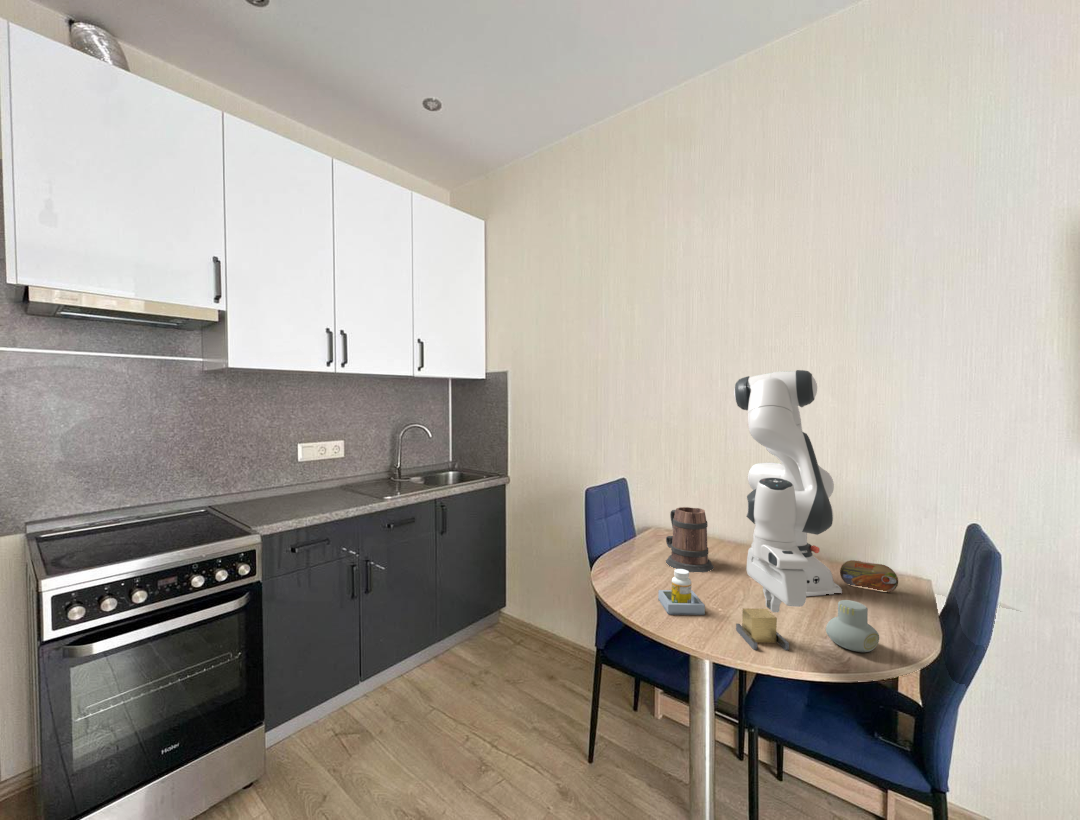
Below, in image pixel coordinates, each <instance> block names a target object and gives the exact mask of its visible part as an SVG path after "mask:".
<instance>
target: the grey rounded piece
mask: <svg viewBox="0 0 1080 820" xmlns="http://www.w3.org/2000/svg"><path fill="white" fill-rule="evenodd" d="M868 613H869V611H868V607H867V606H866V605H865V604H863V603H862V602H859V601H856V600H849V599H843V600H839V601H838V602H837V616H834V617H833V618H831V619H830V620H828V622H827V623H826V626H825V633H826V635H827V636H828V637H829V638H830V640H831V641H832V642H834V643H835V644H836V645H838V646H839V647H842V648H844V649H845V650H848V651H851V652H856V653H868V652H871V651H873V650H874V649H875V648H877V646H878V644H879V642H880V634H879V632H878V631H877V630H876V629H875V628H874V627H873V626H872V625H870V624H869V623H868Z"/></svg>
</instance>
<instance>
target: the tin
mask: <svg viewBox="0 0 1080 820" xmlns="http://www.w3.org/2000/svg"><path fill="white" fill-rule="evenodd" d="M839 575H840V578H841V580H842V582H844V583H845V584H846V585H847V584H850V585H855V586H862V587H868V588H873V589H877V590H883V591H887V592H888V593H891V592H894V591H895V590H896V589H897V588H898V585H899V577H898V575H897V573H896V572H895V571H894V570H893V568H891V567H889V566H887V565H886V564H885V565H884V564H881V563H874V562H867V561H861V560H855V559H853V560H852V559H851V560H847V561H845V562H843V564H841V566H840V568H839Z"/></svg>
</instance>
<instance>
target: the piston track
mask: <svg viewBox="0 0 1080 820" xmlns="http://www.w3.org/2000/svg"><path fill="white" fill-rule="evenodd" d="M735 625H736V626H735V627H736V628H735V631H736V632H737V633H738V634H739V635H740V637H741V638H742V639H743V640H744V641H745V642H746V643H747V644H748V645H749V647H750V648H751V649H752V650H753V651H758V642H756V641H755V640H754V639H753V638H752V637H751V635H750V634H749V633H748V632H747V631H746V630H745V629H744V628H743V627H742V624H740V623H736V624H735ZM776 643H777V644H778V645H779V646H780V647H781V648H782V649H783V650H784V651H787V652H788V651H789V649H790V643H789V641H787V640H786V639H785V638H784V637H783V636H782V635H781V634H779V632H778V631H776Z"/></svg>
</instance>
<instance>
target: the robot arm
mask: <svg viewBox="0 0 1080 820" xmlns="http://www.w3.org/2000/svg"><path fill="white" fill-rule="evenodd" d="M817 384H818V383H817V381H816V378H814V376H813V373H811V372H810V371H809V370H803V369H796V370H795V371H794V370H792V371H791V370H789V371H788V370H786V371H785V370H784V371H783V370H782V371H772V372H769V373H761V374H757V375H752V376H749V375H748V376H745V377H742V378H739V379H738V380H737V381H736V383H735V384H734V389H733V398H734V401H735V403H736V405H737V407H738V408H740V409H741V410H743V411H747V425H748V431H749V434H750V436H751V438H752V439H753V440H755V442H757V443H758V444H759V445H761V446H763V447H765V449H766V451H768V453H769V454H771V455H773V456H774V457H776V458H777V459H778V460H779V462H781V463H777V462H770V461H769V462H759V463H755V464H753V465H752V466H751V467H750V469H749V471H748V474H747V482H748V485H749V487H750V488H751V489H752V491H750V492H749V493H748V494H747V496H746V499H747V514H746V518H747V519H748V520H749V521H751V523H753V524H754V525H755V526H754V530H753V535H752V537H753V538H752V542H751V546H750V547H749V548H748V550H747V557H746V568H745V569H746V573H747V576H749V577H750V578H751V579H753V580H754V581H755V582H756V583H758V584H759V585H760V586H762V593H763V596H764V599H765V607H766V609H768V610H769V611H771V613H779V612H780V606H781V604H782V603H783V604H785V605H786V606H787V607H797V608H798V607H803V606H804V605H805V603H806V601H807V597H814V596H816V597H817V596H826V594H829V595H835V594H834V593H841V594H843V591H842V590H843V588H842V587H841V586H840V585H839V584H838V583H836V582H834V576H833V572H832V571H831V569H830V568H829V567H828V566H827V565H826V564H824V563H823V562H822V561H820V559H818V558H817V557H815V556H814V555H813V553H815V554H819V552H821V550H820V547H818V546H816V545H811V544H810V543H808V534H811V535H817V536H818V535H820V534H822V533H824V532H826V531H827V530H829V529H830V528H831V527H832V525H833V521H834V511H833V507H832V504H831V502H830V497H831V496H832V495H833V493H834V489H835V482H834V479H833V478H832V475H831V474H830V473H829V472H828V471H827V470H825V469H824V468H823V467H821V466H820V465H819V464H818V460H817V457H816V454H815V449H814V448H813V444H812V441H811V439H810V437H809V435H808V433H806V432H804V431H803V428H802V419H801V413H800V408H804V407H805V406H808V405H810V404H812V403H813V402H814V401H815V398H816V395H817V394H818V393H817V392H818V385H817ZM799 407H800V408H799Z"/></svg>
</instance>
